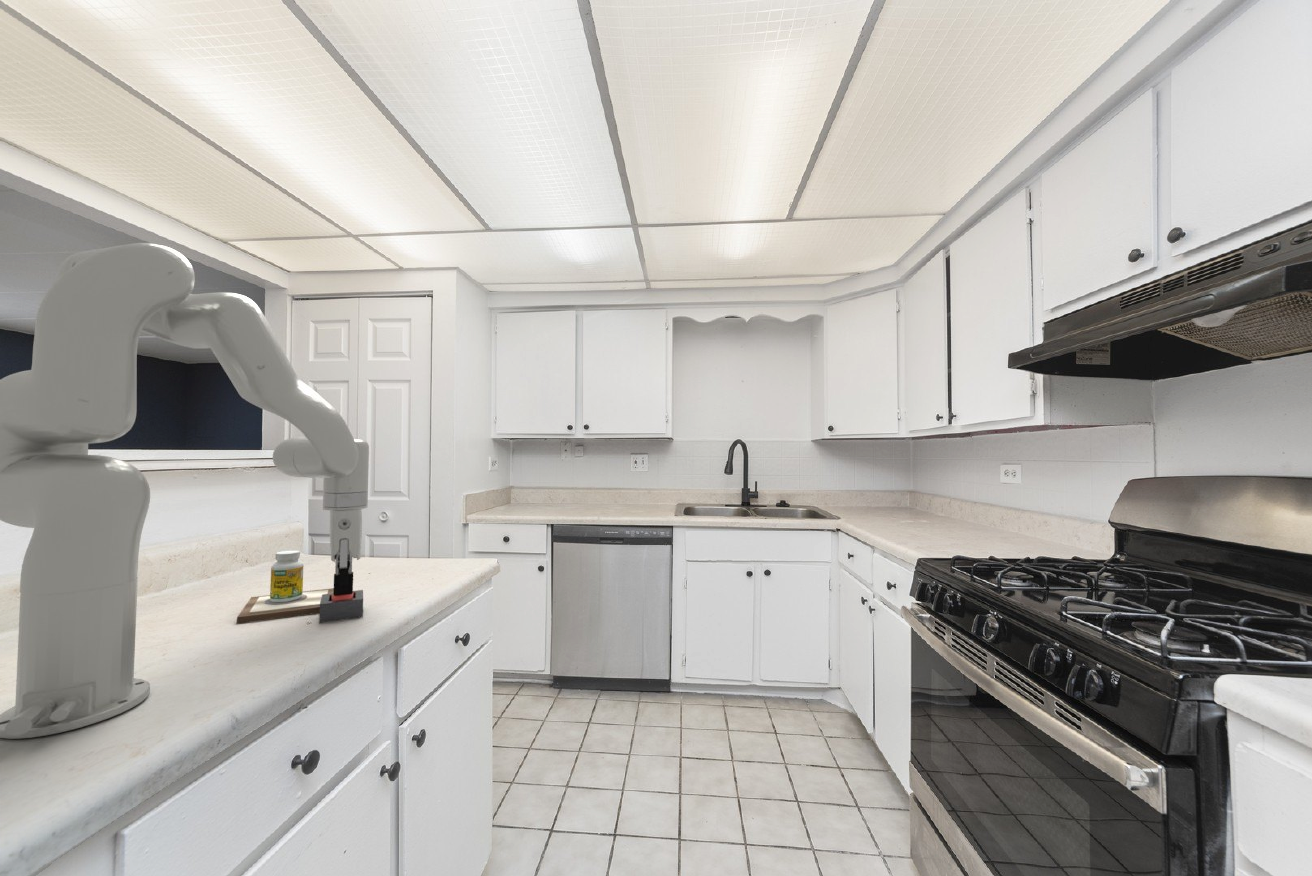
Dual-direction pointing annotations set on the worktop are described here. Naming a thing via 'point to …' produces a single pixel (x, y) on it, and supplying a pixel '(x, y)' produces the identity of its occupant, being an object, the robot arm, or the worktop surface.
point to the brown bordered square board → (281, 607)
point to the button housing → (341, 607)
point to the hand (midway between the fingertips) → (343, 593)
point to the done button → (342, 597)
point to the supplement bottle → (286, 577)
